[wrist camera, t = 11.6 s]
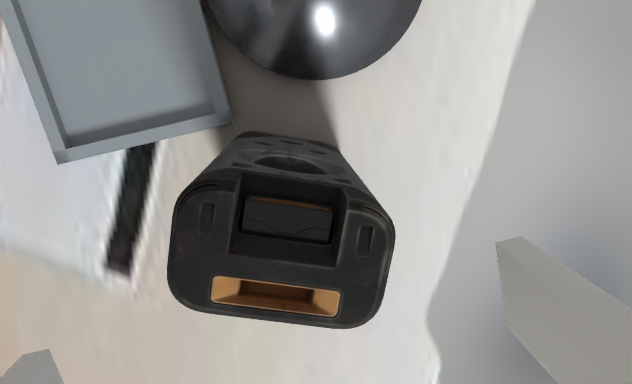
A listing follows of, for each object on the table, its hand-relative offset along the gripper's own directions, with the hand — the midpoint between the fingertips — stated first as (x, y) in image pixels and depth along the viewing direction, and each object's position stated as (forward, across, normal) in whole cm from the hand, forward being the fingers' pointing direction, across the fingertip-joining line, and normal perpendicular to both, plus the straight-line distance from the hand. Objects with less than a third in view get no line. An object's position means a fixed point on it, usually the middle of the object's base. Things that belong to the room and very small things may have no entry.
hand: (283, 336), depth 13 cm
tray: (+26, -10, +13) cm, 31 cm away
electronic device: (+26, 0, 0) cm, 26 cm away
